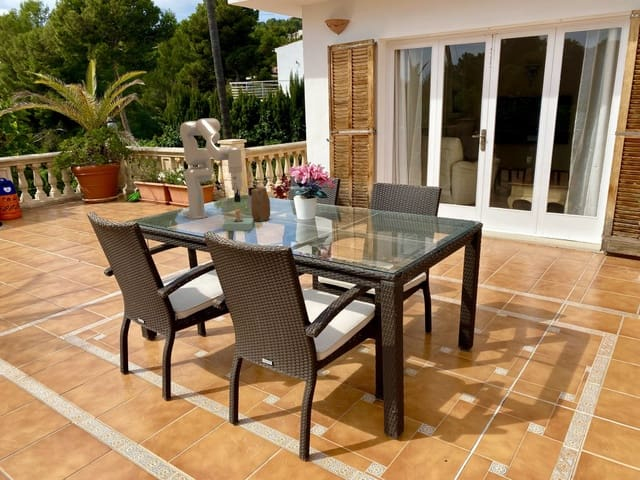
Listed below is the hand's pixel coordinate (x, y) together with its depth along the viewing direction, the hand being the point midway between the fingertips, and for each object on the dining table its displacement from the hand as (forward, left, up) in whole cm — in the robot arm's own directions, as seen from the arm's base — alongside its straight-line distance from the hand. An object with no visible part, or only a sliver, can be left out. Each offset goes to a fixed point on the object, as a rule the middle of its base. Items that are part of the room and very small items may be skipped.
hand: (237, 201), depth 282 cm
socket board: (0, 0, -15) cm, 15 cm away
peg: (0, 0, -15) cm, 15 cm away
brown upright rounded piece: (+12, +18, -16) cm, 27 cm away
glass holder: (+8, +48, -16) cm, 51 cm away
